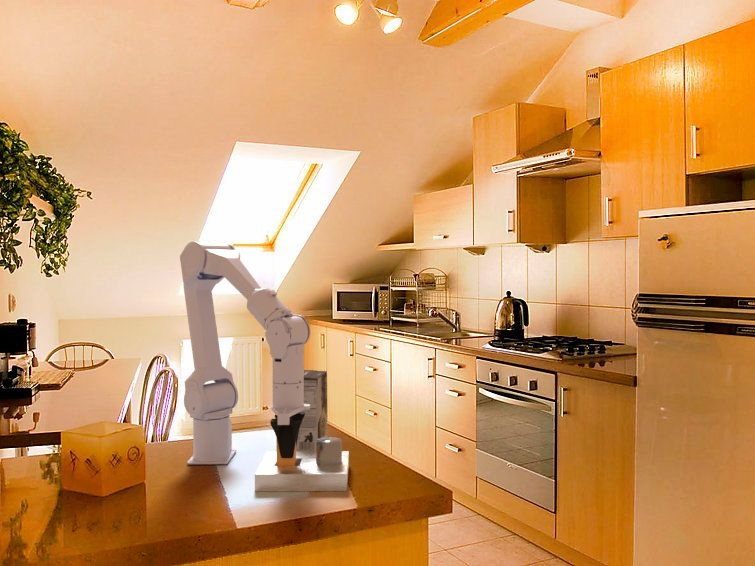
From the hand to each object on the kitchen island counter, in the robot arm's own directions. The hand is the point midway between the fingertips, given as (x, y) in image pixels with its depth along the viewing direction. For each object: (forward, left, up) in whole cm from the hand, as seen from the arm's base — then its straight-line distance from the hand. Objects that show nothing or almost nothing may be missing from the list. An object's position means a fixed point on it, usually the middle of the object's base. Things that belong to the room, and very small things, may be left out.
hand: (288, 454), depth 119 cm
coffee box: (-21, +2, -5) cm, 22 cm away
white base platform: (0, +3, -4) cm, 5 cm away
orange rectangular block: (0, 0, -2) cm, 2 cm away
